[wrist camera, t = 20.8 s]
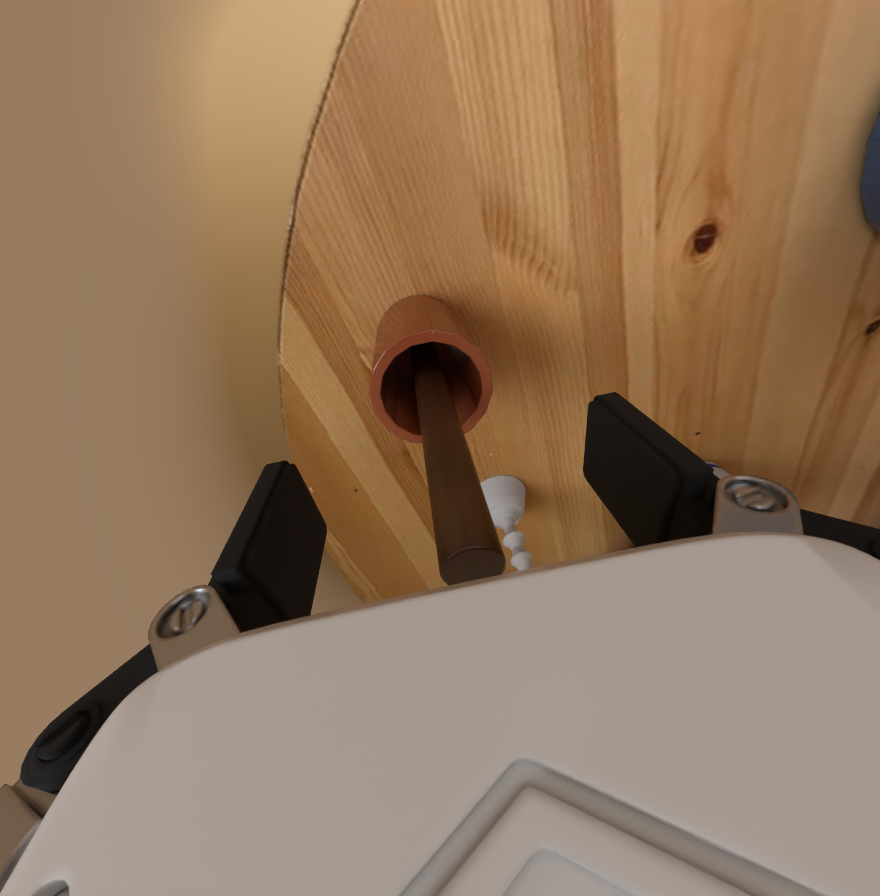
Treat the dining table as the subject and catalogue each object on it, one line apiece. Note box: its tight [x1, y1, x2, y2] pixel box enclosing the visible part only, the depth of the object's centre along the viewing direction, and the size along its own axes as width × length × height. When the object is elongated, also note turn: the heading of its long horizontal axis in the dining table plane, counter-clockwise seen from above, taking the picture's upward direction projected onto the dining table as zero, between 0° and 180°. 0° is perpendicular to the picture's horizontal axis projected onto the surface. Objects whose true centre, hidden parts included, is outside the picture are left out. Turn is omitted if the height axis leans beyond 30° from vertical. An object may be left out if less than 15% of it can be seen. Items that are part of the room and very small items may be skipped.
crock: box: [369, 295, 493, 444], centre depth 19 cm, size 6×6×8 cm
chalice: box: [480, 475, 532, 571], centre depth 24 cm, size 7×7×18 cm
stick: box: [410, 342, 506, 585], centre depth 15 cm, size 2×2×17 cm
